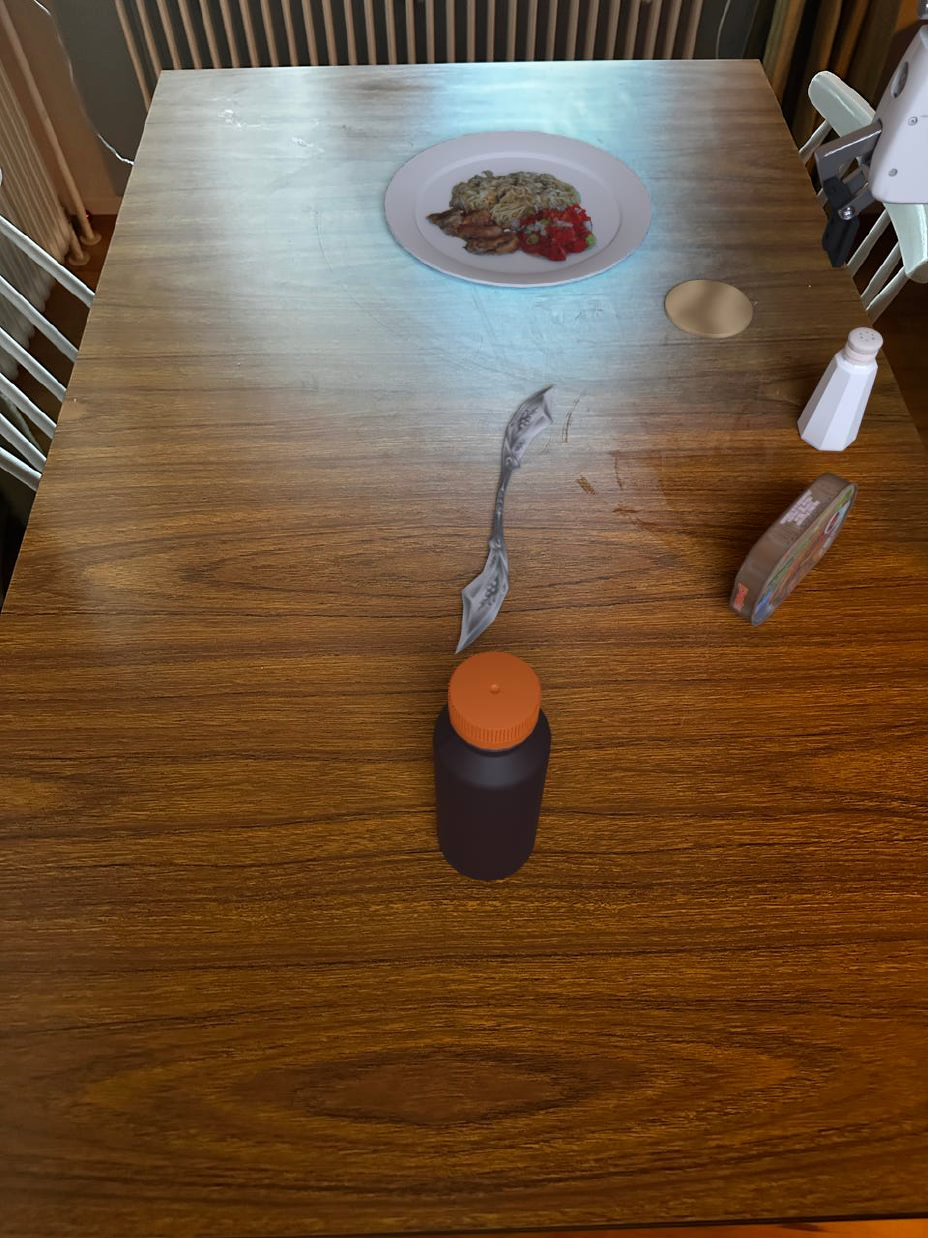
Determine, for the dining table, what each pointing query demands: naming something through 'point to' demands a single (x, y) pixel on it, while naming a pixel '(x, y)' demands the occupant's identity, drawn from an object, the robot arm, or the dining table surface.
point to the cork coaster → (708, 309)
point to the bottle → (490, 765)
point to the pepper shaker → (842, 393)
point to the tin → (791, 547)
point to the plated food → (518, 209)
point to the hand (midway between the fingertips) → (894, 256)
